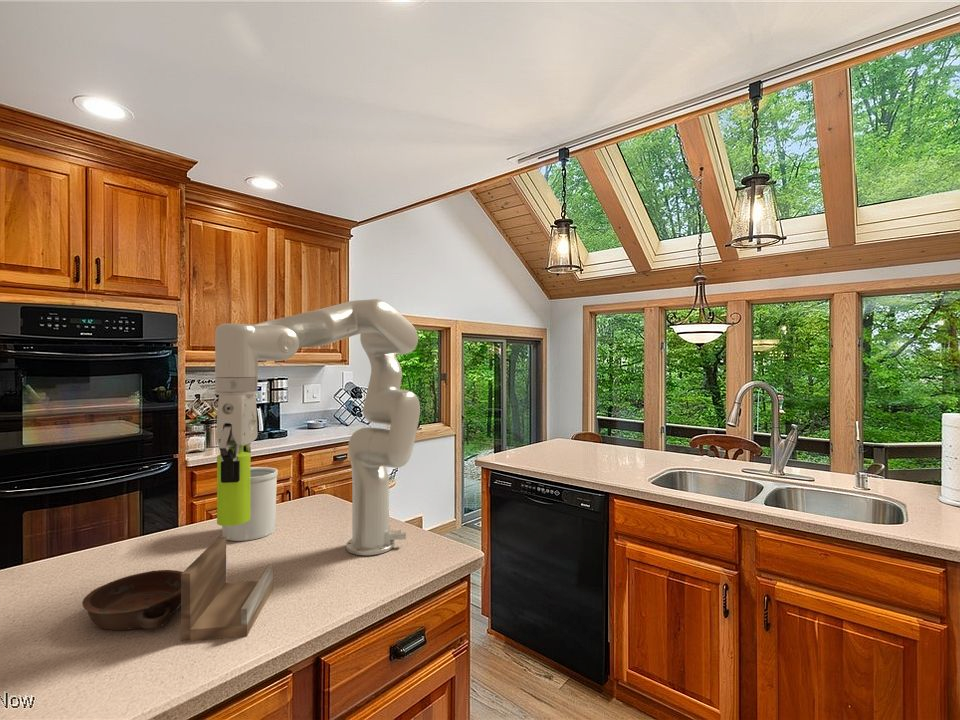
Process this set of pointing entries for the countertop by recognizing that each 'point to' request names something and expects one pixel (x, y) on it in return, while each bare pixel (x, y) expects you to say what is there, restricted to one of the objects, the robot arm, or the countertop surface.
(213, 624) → the board
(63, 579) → the countertop surface
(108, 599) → the dish
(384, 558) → the countertop surface
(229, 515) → the soap dispenser
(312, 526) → the countertop surface
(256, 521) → the utensil holder
